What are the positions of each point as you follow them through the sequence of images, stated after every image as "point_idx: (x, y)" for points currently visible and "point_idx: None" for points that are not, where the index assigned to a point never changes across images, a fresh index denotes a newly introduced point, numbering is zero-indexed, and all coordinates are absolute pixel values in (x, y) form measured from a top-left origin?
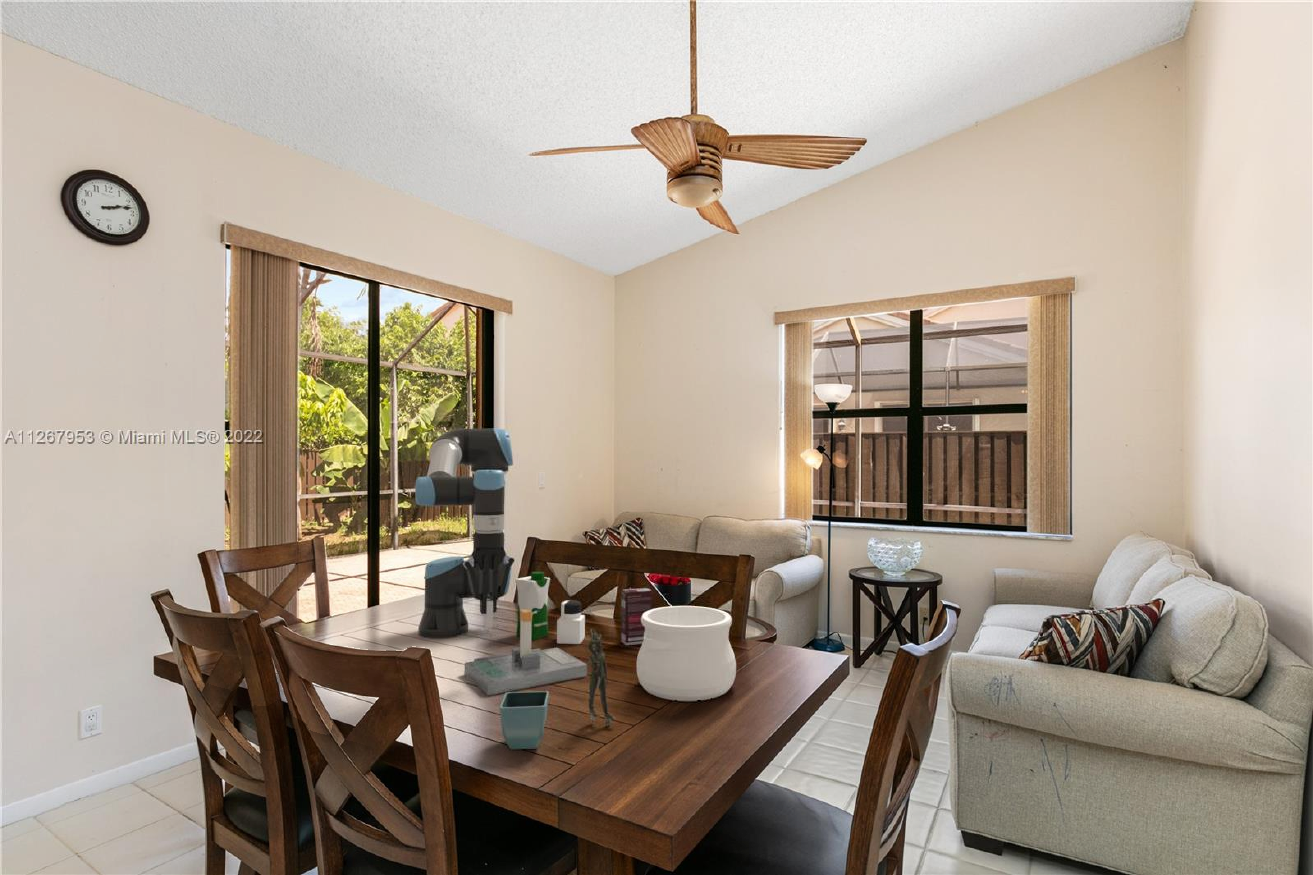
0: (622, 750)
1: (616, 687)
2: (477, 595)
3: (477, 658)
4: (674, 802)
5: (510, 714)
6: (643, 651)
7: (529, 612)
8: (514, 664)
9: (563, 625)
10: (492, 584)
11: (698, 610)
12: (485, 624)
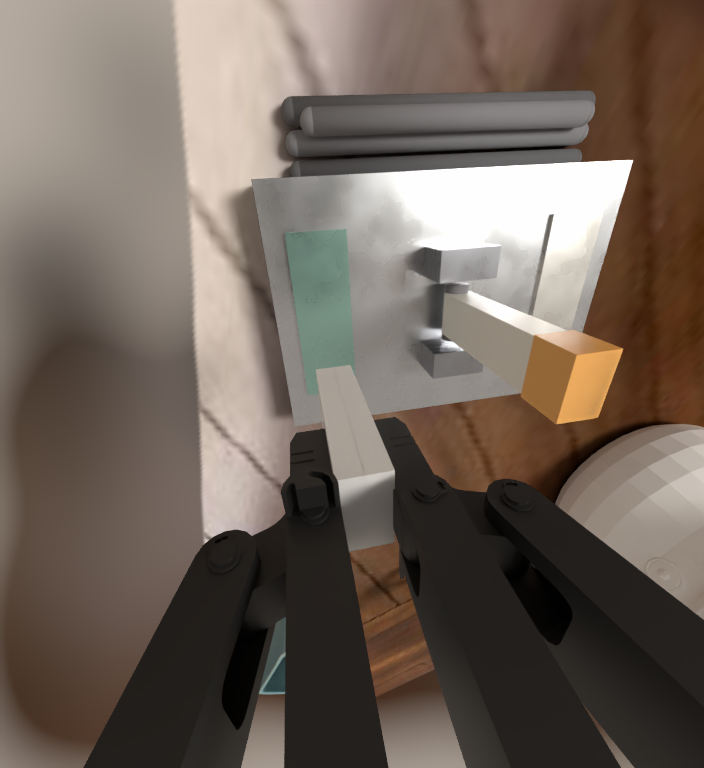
0: (406, 618)
1: (541, 452)
2: (243, 645)
3: (317, 116)
4: (390, 680)
5: (275, 679)
6: (623, 551)
7: (581, 417)
8: (413, 299)
9: None
10: (459, 740)
11: None
12: (320, 406)
